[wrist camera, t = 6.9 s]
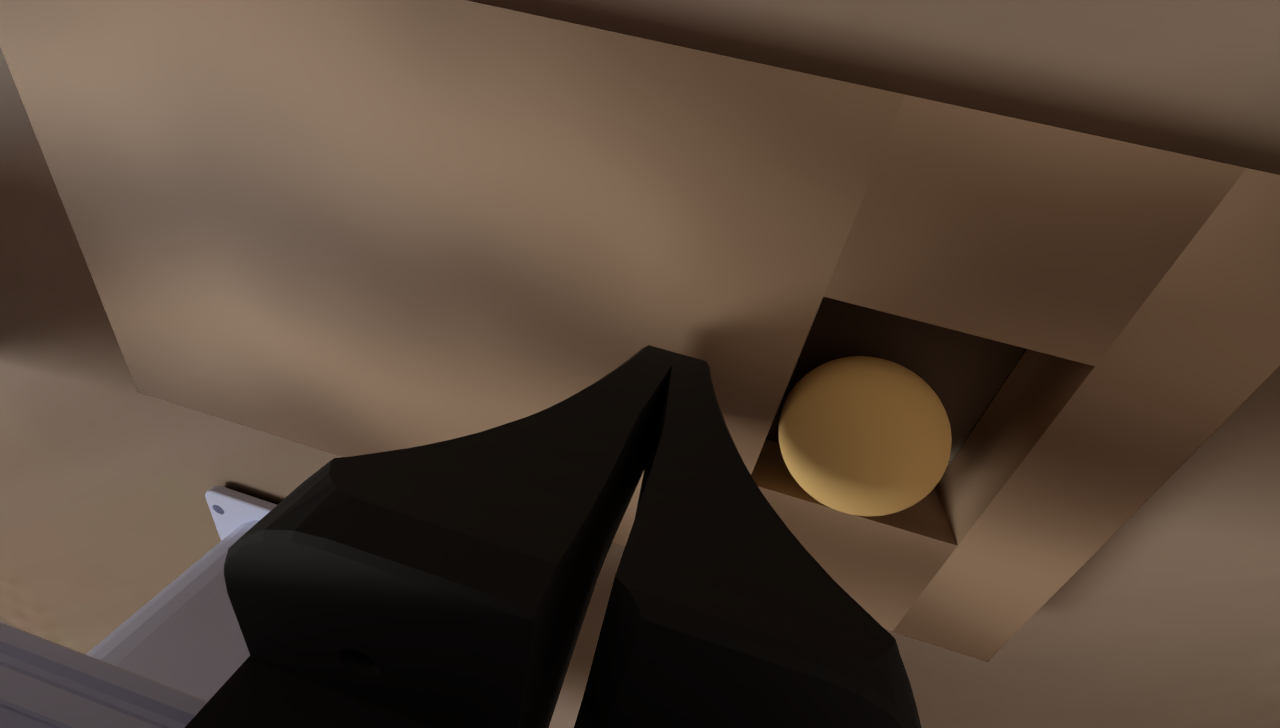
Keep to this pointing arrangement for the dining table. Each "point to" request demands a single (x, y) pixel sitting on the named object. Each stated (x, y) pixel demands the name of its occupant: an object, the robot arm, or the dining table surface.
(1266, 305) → the hole board
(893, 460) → the ball
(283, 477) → the dining table surface
